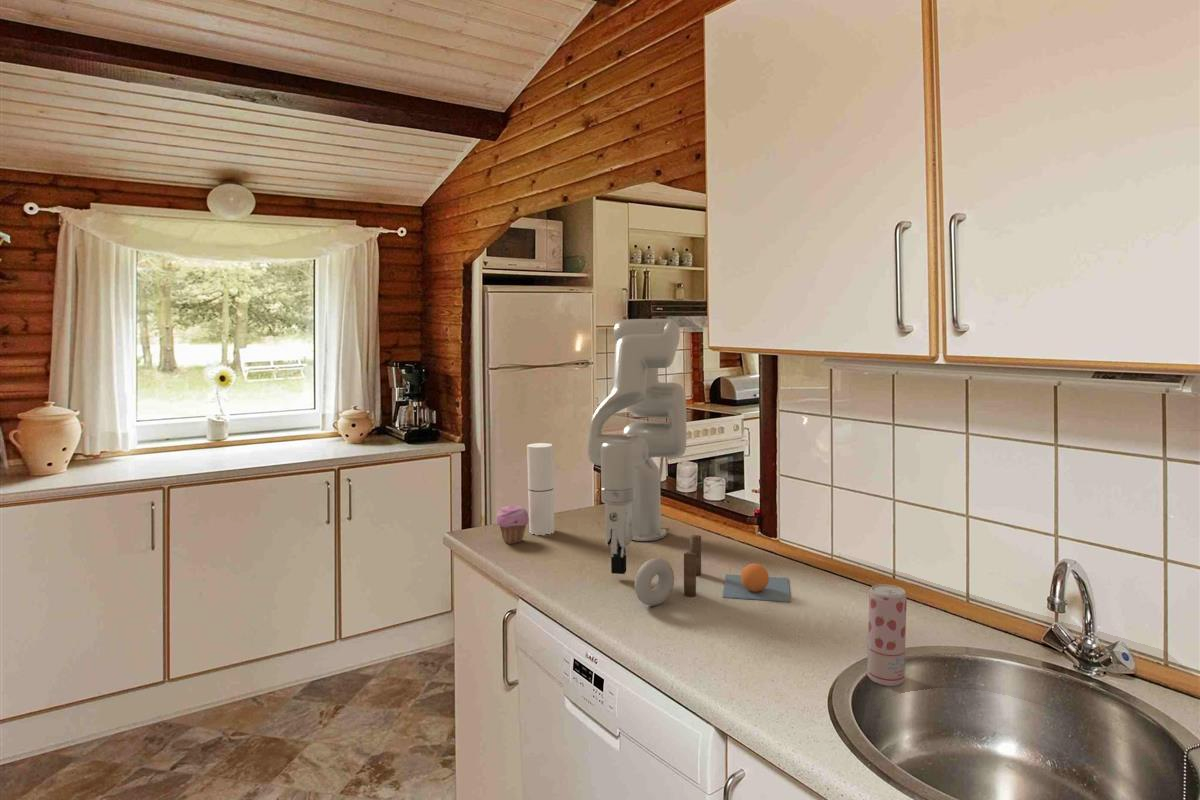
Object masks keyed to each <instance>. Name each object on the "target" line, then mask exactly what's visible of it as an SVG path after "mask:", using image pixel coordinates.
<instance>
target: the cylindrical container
mask: <svg viewBox="0 0 1200 800" xmlns="http://www.w3.org/2000/svg"><path fill="white" fill-rule="evenodd" d="M553 448H554V447H553V444H552V443H547V442H538V443H530V444H527V445H526V457H527V458H526V459H527V493H528V517H529V520H528V525H529V526H528V527H529V528H528V531H529V532H530V533H531V534H530V533H529V534H530V535H532V534H535V535H534V536H538V535H542V536H546V535H545V534H549V535H552V534H554V533H555V501H554V499H555V498H554V495H555V494H554V492H555V491H554V462H553V461H554V456H553V455H554V454H553V452H554V451H553ZM551 533H552V534H551Z"/></svg>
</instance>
